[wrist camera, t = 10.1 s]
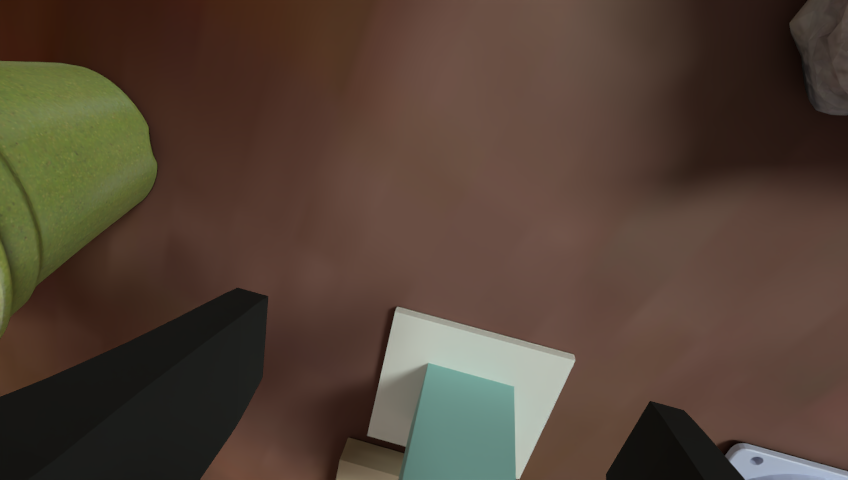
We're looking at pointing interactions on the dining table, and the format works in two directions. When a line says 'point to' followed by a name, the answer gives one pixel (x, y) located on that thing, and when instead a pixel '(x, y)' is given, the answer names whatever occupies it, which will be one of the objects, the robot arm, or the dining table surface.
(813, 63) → the geode
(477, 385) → the teal block
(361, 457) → the board
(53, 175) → the plant pot
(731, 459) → the robot arm
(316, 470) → the dining table surface
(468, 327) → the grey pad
